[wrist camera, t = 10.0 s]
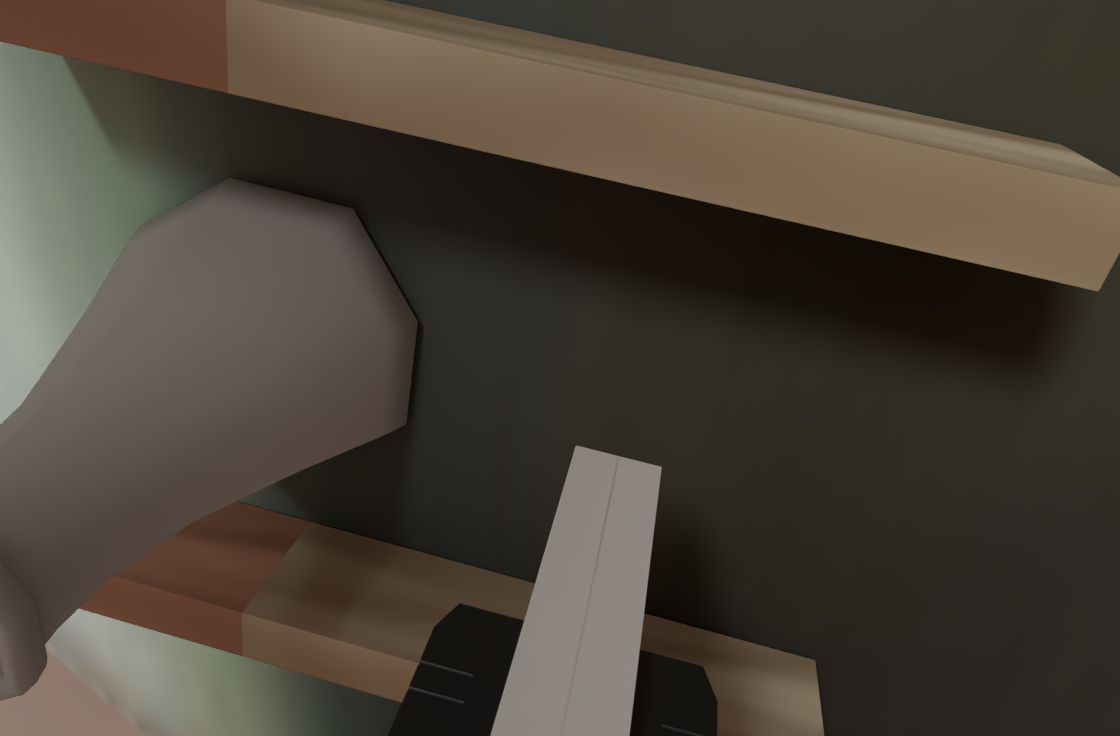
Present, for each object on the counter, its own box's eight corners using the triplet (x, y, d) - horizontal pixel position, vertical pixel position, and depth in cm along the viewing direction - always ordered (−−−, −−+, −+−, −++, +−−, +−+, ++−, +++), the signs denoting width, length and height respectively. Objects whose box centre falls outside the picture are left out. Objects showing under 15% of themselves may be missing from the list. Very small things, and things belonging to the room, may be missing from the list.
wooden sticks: (21, -78, 16) (-146, -87, 13) (1060, 144, 14) (1150, 194, 11) (99, 503, 23) (3, 586, 20) (796, 698, 21) (807, 820, 18)
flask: (451, 449, 20) (233, 829, 11) (200, 451, 22) (-160, 785, 13) (387, 159, 17) (17, 373, 8) (99, 188, 18) (-466, 392, 10)
